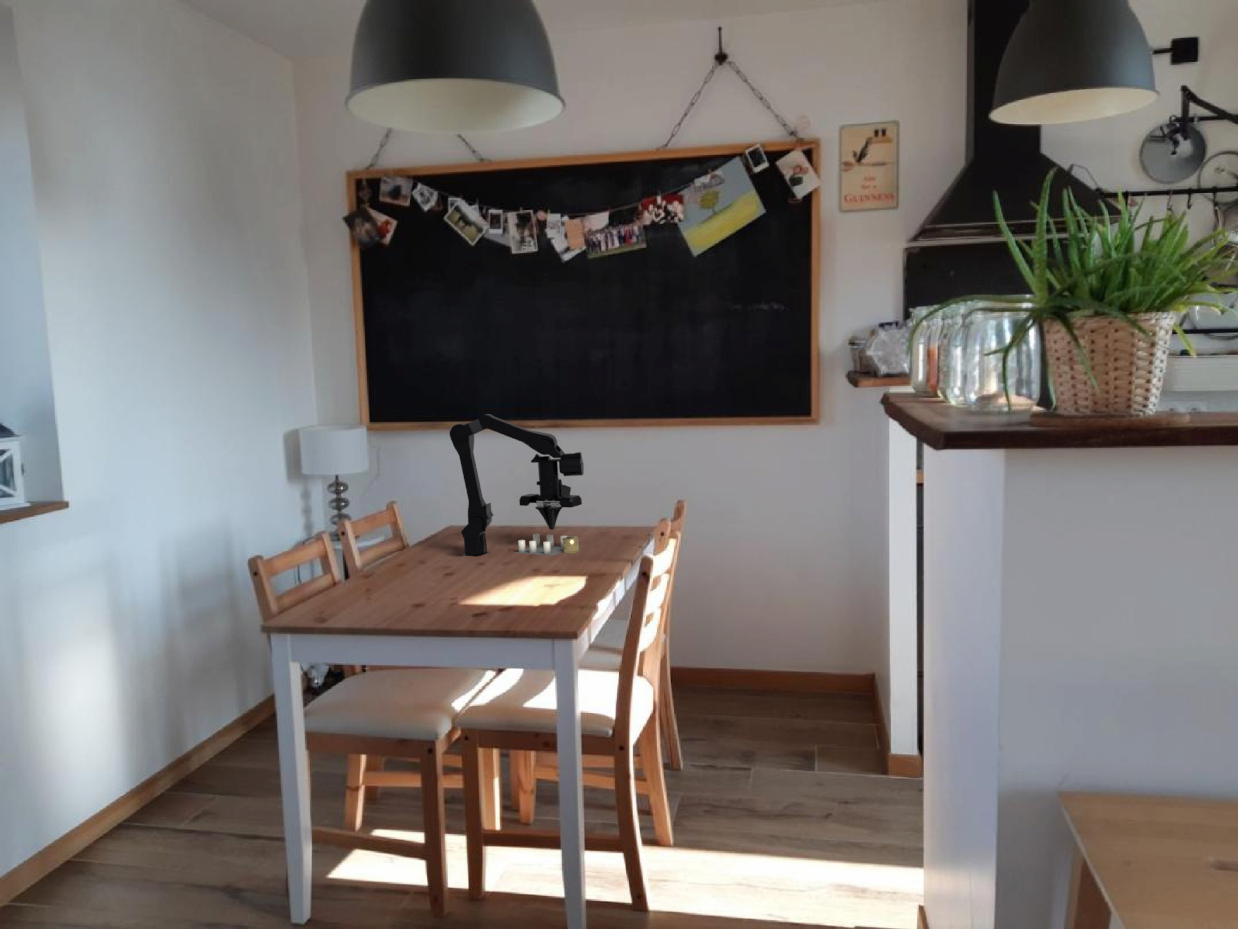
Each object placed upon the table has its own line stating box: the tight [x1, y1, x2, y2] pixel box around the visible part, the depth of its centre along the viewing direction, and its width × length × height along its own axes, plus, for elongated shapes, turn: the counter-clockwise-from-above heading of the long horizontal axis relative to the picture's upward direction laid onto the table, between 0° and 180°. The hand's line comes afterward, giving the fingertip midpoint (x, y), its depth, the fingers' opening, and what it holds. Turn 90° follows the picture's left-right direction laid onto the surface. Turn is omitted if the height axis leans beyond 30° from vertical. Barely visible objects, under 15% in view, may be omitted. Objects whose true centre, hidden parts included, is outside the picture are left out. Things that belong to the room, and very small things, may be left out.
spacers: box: [517, 533, 568, 556], centre depth 282 cm, size 11×12×4 cm
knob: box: [562, 535, 580, 554], centre depth 277 cm, size 5×5×5 cm
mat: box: [514, 544, 564, 557], centre depth 282 cm, size 12×14×1 cm
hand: (552, 529), depth 280 cm, fingers closed
